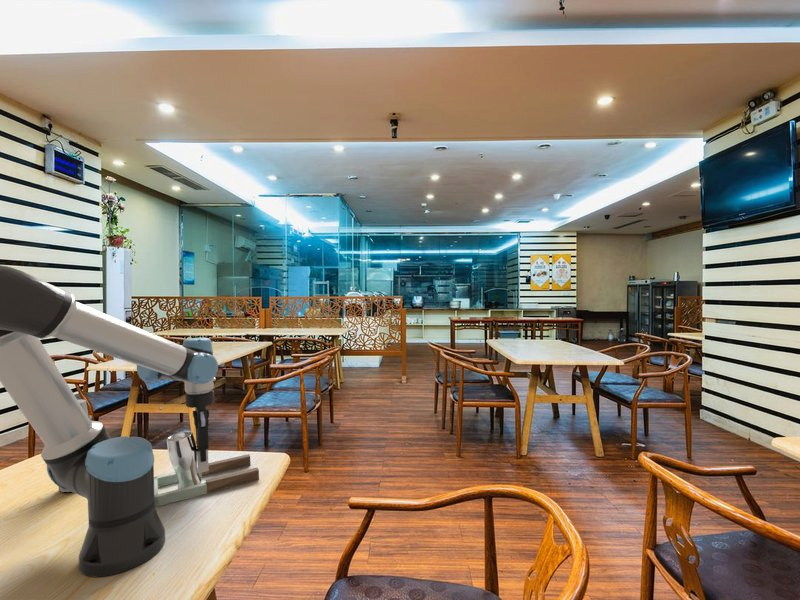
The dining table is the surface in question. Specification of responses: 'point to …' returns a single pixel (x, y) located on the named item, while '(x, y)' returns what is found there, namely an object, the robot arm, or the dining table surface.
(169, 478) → the pale green u-shaped frame
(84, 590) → the dining table surface
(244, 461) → the slot rails
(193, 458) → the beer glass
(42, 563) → the dining table surface
